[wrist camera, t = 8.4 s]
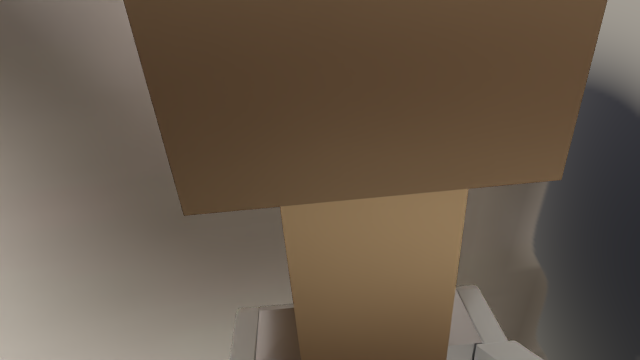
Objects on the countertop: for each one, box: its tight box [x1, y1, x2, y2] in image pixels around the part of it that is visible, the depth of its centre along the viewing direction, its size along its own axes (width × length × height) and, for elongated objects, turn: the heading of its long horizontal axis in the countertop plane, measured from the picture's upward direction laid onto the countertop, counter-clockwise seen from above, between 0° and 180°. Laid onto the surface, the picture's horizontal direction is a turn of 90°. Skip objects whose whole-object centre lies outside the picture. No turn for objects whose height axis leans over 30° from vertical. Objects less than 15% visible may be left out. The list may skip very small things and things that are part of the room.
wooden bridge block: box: [123, 0, 607, 360], centre depth 14 cm, size 26×9×8 cm, turn 4°
